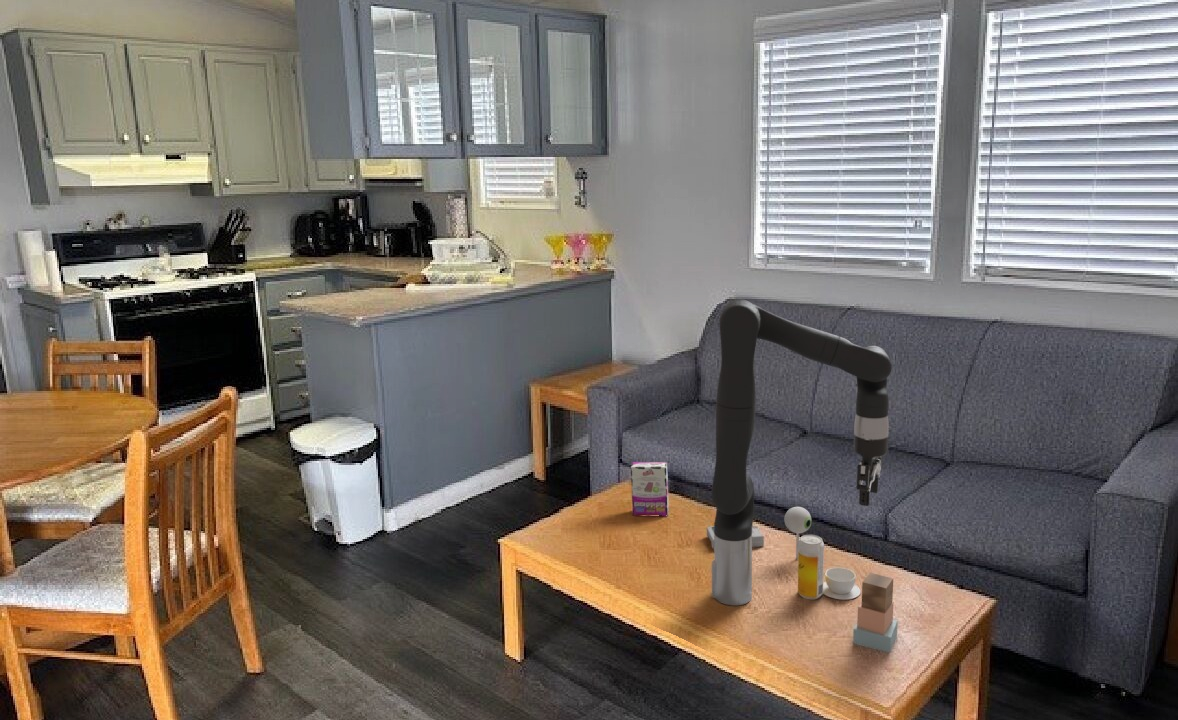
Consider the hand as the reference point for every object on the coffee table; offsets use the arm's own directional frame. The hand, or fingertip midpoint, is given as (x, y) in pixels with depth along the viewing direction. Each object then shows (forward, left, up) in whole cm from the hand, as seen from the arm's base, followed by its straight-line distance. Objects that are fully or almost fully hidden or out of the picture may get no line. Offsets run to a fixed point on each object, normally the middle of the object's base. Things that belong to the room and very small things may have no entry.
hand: (868, 498), depth 195 cm
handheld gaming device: (-41, +20, -29) cm, 54 cm away
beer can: (-13, 0, -28) cm, 31 cm away
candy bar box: (-72, +27, -28) cm, 82 cm away
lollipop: (-22, +17, -28) cm, 40 cm away
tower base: (+5, -13, -28) cm, 32 cm away
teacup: (-7, +5, -28) cm, 30 cm away
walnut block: (+6, -14, -19) cm, 24 cm away
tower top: (+5, -14, -24) cm, 28 cm away
